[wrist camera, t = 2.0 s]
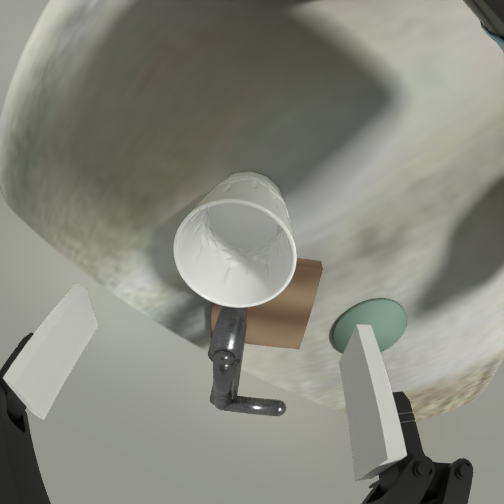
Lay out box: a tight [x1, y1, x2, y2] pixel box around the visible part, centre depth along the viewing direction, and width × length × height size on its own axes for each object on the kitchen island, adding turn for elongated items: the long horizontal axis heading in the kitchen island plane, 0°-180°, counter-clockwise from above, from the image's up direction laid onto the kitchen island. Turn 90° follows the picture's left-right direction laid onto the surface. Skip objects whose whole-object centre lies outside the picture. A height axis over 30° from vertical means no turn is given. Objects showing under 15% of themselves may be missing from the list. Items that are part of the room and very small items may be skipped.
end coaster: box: [333, 298, 407, 353], centre depth 32 cm, size 10×10×1 cm
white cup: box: [173, 171, 297, 308], centre depth 22 cm, size 8×8×10 cm
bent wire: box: [208, 305, 286, 416], centre depth 25 cm, size 9×7×11 cm
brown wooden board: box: [211, 258, 323, 349], centre depth 31 cm, size 12×11×2 cm
